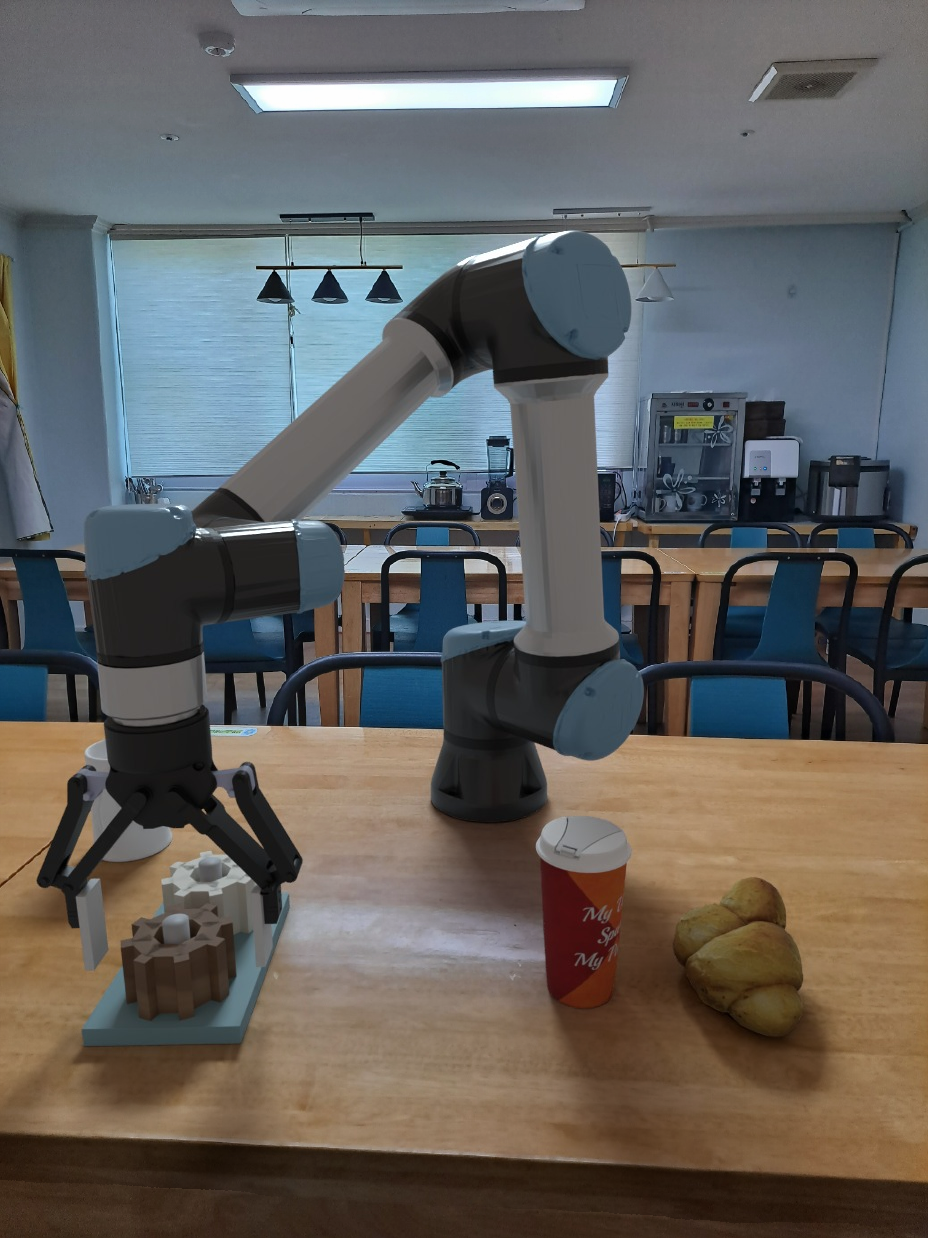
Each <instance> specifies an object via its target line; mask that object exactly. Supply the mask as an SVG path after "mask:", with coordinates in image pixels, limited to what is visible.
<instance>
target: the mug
mask: <svg viewBox="0 0 928 1238" xmlns="http://www.w3.org/2000/svg"><path fill="white" fill-rule="evenodd" d="M84 760H85V761H84V762H85V766H86V765H92V766H93V767H95V769H96V771H98V772H109V771H110V765H109V763H108V759H107V749H106V740H105V739H102V740H100V741H97V742H95V743H92V744H90V745H89V746H88V747H86V749H85V750H84ZM120 810H121V807H120V806H119V805H118V803H117V802H116V801H115V800H114V799H113V798H112V797H111V796H110V795H109V793H108V792H107V790H106V789H103V792H102V793H101V794H100V795H99V796H98V797H97V798H96V799H95V800H94V802H93V805H92V807H91V810H90V814H91V815H90V817H91V824H92V825H91V826H92V834H93V844H94V843H95V842H96V840H97V839H98V838H99V836H100V835H101V834H102V833H103V831H104V830H105V829H106V828H107V826H108V825H109V823H110V822H111V821H112V820H113V818H114V817H115V816H116V815H117V813H118V812H119V811H120ZM172 840H173V832H172V830H171V828H169V827H165V826H162V827H158V828H154V829H143V826H141V825H139V824H137V823H135V822H134V821H132V823H131V824H130V825H129V826H128V828H127V829H126V830H125V831H124V833H123V834H122V835H121V836H120V838H119V839H118V840H117V841H116V843H115V844H114V845H113V846H112V848H111V849H110V850H109V851H108V853H107V854H106V855H105V856H104V858H103V859H102V860H101V861H104V862H108V863H109V862H110V863H127V862H132V861H138V860H142V859H145V858H148V857H151V856H154V855H156V854H157V853H161V851H163V850H165V849H166V848H167V847H168V846H169V845H170V844H171V842H172Z"/></svg>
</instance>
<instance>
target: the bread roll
mask: <svg viewBox="0 0 928 1238" xmlns="http://www.w3.org/2000/svg"><path fill="white" fill-rule="evenodd" d="M719 901H720V902H719V904H718V903H712V904H711V903H707V904H704V905H702V906H698V907H695V908H692V909H690V910H689V911H687V912H686V913H685V914H684V915H683V917H681V918H680V919H679V922H678V923H677V924H676V927H675V932H674V936H673V940H672V949H673V955H674V957H675V958H676V960H677V962H678V963H679V964H680V965H681V967H683V969H684V971H685V975H686V977H687V978H688V980H689V983H690V984H691V987H692V988H693V990H695V992H696V994H697V997H698V998H699V999H700V1000H701V1001H702V1003H703V1004H705V1005H707V1006H709V1007H710V1008H713V1009H715V1010H717V1011H718V1012H721V1013H728V1014H729V1015H730V1017H732V1018H733V1019H734V1020H735V1021H736V1022H737V1023H738V1024H739V1025H740V1026H741V1027H742V1028H743V1027H744V1028H745V1029H748V1030H750V1031H752V1032H755V1033H757V1034H759V1035H762V1036H767V1037H783V1036H786V1035H788V1034H790V1033H791V1032H792V1031H793V1030H794V1029H795V1028H796V1026H797V1025H798V1024H799V1021H800V1020H801V1017H802V1014H803V1011H804V1005H803V1002H802V998H801V995H800V993H799V991H800V990H801V988H802V986H803V983H804V973H803V964H802V958H801V954H800V951H799V948H798V945H797V942H796V941H795V940H794V937H793V936H792V935H791V934H790V933H789V932H788V931H787V930H786V927H787V909H786V906H785V902H784V900H783V898H782V895H781V894H780V892H779V890H778V889H777V888H776V887H775V886H774V885H773V884H772V883H771V882H769V881H767V880H765V879H763V878H760V877H757V876H755V877H754V876H751V877H750V876H749V877H747V878H743V879H740V880H739V881H737V882H735V883H734V884H733V885H732V887H731V888H730V890H729V891H727V892H726V894H724V895H723V896H722V898H721V899H720V900H719Z"/></svg>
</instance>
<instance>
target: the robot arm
mask: <svg viewBox="0 0 928 1238" xmlns="http://www.w3.org/2000/svg"><path fill="white" fill-rule="evenodd" d="M628 282H629V281H628V279H627V276H626V274H625V271H624V269H623V267H622V265H621V263H620V261H619V259H618V258H617V257H616V256H615V255H613V253H612V251H611V249H610V248H609V246H608V245H607V244H606V243H605V242H603V241H602V240H601V239H599V238H598V237H597V236H595V235H593V234H591V233H589V232H586V231H582V230H567V231H561V232H555V233H552V232H551V233H548V234H539V235H536V237H534V238H530V239H526V240H524V241H521V242H517V243H515V244H511V245H508V246H504V247H502V248H499V249H494V250H492V251H489V252H483V253H478V254H476V255H473V256H470V257H467V258H465V259H464V260H462V261H459V263H457V264H455V265H453V266H452V267H451V268H449V269H448V270H446V271H445V272H444V273H442V274H441V275H440V276H439V277H438V278H437V279H435V280H434V281H432V282H431V283H430V284H429V285H428V286H427V287H426V288H425V289H424V290H422V292H420V293H419V294H418V295H417V296H416V297H415V298H413V299H412V300H411V301H410V302H409V303H408V304H407V305H406V306H405V307H404V308H402V310H401V311H399V312H398V313H397V314H396V315H395V316H393V317H392V318H391V319H390V320H389V321H388V322H387V323H386V324H385V325H384V327H383V329H382V335H381V337H382V338H381V339H382V341H380V342H379V343H378V344H377V345H376V346H375V347H374V348H373V349H372V350H371V351H369V353H368V354H366V355H365V356H364V357H363V358H362V359H361V360H360V361H358V362H357V363H356V364H354V366H353V367H352V368H351V369H350V370H348V371H347V372H346V373H345V374H344V375H343V376H341V378H340V379H338V380H337V381H336V382H335V383H334V384H332V386H330V388H328V389H327V390H326V391H325V392H323V394H321V395H320V396H319V398H317V399H316V400H315V401H314V402H313V403H312V404H311V405H309V406H308V407H307V408H306V409H305V410H304V411H303V412H302V413H300V415H299V416H297V417H296V418H295V419H293V420H292V422H290V424H288V425H287V426H286V427H285V428H284V429H283V430H281V432H280V433H278V434H277V435H276V436H275V437H274V438H273V439H271V441H270V442H268V443H267V444H266V445H265V446H264V447H262V449H260V450H259V451H258V452H257V453H256V454H255V455H254V456H253V457H251V459H249V461H247V462H246V463H245V464H244V465H242V467H240V468H239V470H237V471H236V472H235V473H234V474H233V475H232V476H231V477H229V478H228V479H227V480H226V481H225V482H224V483H222V484H221V485H220V486H219V487H218V488H217V489H216V490H214V491H213V492H211V494H210V495H207V497H206V498H204V499H203V501H202V502H200V503H199V504H198V505H197V506H196V507H195V508H194V509H193V510H191V509H190V508H189V507H188V506H186V505H184V504H180V503H132V504H130V503H129V504H117V505H109V506H108V505H106V506H102V507H98V508H96V509H93V510H91V511H90V512H89V513H88V514H87V516H86V517H85V520H84V524H83V535H84V536H83V537H84V538H83V540H84V541H83V542H84V545H83V546H84V557H85V558H84V561H85V563H84V565H85V569H84V577H85V578H86V580H87V581H86V583H87V591H88V596H89V603H90V611H91V618H92V627H93V632H94V638H95V639H94V641H95V646H96V647H95V648H96V650H95V653H96V663H97V674H98V683H99V686H98V687H99V695H100V708H101V711H102V713H103V714H105V715H106V716H107V718H106V719H105V720H104V722H103V730H104V740H106V749H107V759H108V763H109V765H110V771H109V772H98V771H96V769H95V767H93V766H92V765H86V764H85V765H84V766H83V767H81V768H80V769H79V770H78V771H77V772H76V773H75V774H74V775H72V776H71V777H69V779H67V784H66V790H67V791H66V793H67V794H66V795H67V796H66V800H67V801H66V806H65V809H64V811H63V814H62V816H61V818H60V820H59V822H58V825H57V827H56V830H55V832H54V835H53V838H52V840H51V843H50V845H49V848H48V850H47V852H46V854H45V855H46V856H45V857H44V861H43V863H42V865H41V867H40V869H39V873H38V875H37V878H36V884H37V885H38V887H39V888H42V889H48V888H50V887H53V888H57V889H59V890H60V891H61V892H62V893H63V894H64V899H65V907H66V912H67V921H68V924H69V926H70V928H71V929H79V933H80V941H81V948H82V949H81V950H82V959H83V966H84V971H85V972H86V971H87V972H90V971H92V972H93V971H96V969H98V968H97V967H98V966H99V965H100V963H101V962H102V960H103V959H104V957H105V956H106V955H107V953H108V951H109V943H108V941H109V940H108V933H107V925H106V917H105V908H104V900H103V899H104V898H103V892H102V884H101V878H90V879H89V880H88V877H90V876H91V874H92V873H93V872H94V870H95V869H97V866H98V865H99V864H100V863H101V862H102V861H103V860H102V859H103V858H104V856H105V855H106V854H107V853H108V851H109V850H110V849H111V848H112V846H113V845H114V844H115V843H116V841H117V840H118V839H119V838H120V836H121V835H122V834H123V833H124V831H125V830H126V829H127V828H128V826H129V825H130V824H131V823H132V821H134V822H135V823H137V824H139V825H141V826H143V829H154V828H158V827H162V826H165V827H169V828H170V829H184V828H185V827H186V826H187V825H191V827H192V828H193V829H194V830H195V831H196V832H198V833H199V834H200V835H202V836H203V835H205V836H207V837H208V838H209V839H210V841H212V843H214V844H215V845H216V846H217V847H218V848H219V849H220V850H221V851H222V852H223V853H224V855H225V854H226V855H227V856H228V857H229V858H230V859H232V860H233V861H234V862H235V863H236V864H237V865H238V866H239V867H240V868H241V869H242V870H243V871H244V872H245V873H246V874H247V875H248V876H249V877H250V878H251V879H252V880H253V881H254V882H255V885H254V887H253V889H252V891H251V906H252V919H253V933H254V946H255V959H256V967H266V964H267V961H268V959H269V956H270V953H271V950H272V947H273V941H272V927H271V924H277V922H278V919H279V916H280V914H281V911H282V895H281V893H282V884H284V883H287V884H288V883H289V884H291V883H295V882H296V881H297V878H298V877H299V873H300V871H301V868H302V865H303V863H304V861H303V860H304V859H303V857H302V855H301V854H300V852H299V850H298V848H296V846H295V844H294V842H293V841H292V839H291V837H290V835H289V834H288V832H287V831H286V829H285V828H284V826H283V824H282V823H281V821H280V819H279V818H278V816H277V814H276V813H275V811H274V810H273V807H272V806H271V804H270V803H269V802H268V800H267V798H266V796H265V795H264V793H263V792H262V790H261V789H260V787H259V786H260V785H259V781H258V776H257V770H256V767H255V764H253V762H251V761H244V762H242V763H241V764H240V766H239V767H235V768H228V769H226V768H225V769H218V767H217V766H216V764H215V763H214V760H213V745H212V743H213V742H212V734H211V733H212V732H211V720H210V711H209V708H207V707H206V705H204V703H205V702H206V701H207V700H208V692H207V691H208V689H207V677H206V675H207V674H206V665H205V664H206V663H205V651H204V649H205V646H204V644H205V643H204V639H203V628H204V627H205V626H208V625H218V624H219V625H220V624H224V623H229V622H236V621H243V620H251V619H258V618H265V617H266V618H267V617H272V616H281V615H286V614H287V615H288V614H294V613H295V614H297V615H298V614H302V613H303V612H307V611H310V610H314V609H318V608H319V609H320V608H323V607H327V606H330V605H331V604H333V603H334V602H335V601H336V600H337V599H338V597H339V596H340V593H341V592H342V590H343V586H344V582H345V576H346V575H345V574H346V573H345V572H346V571H345V556H344V552H343V551H344V550H343V548H342V546H341V543H340V540H339V537H338V536H337V535H336V533H335V532H334V529H332V527H330V526H329V525H328V524H326V523H325V522H323V521H320V520H313V519H312V520H303V519H304V518H305V517H306V516H307V515H309V513H310V512H311V511H312V510H314V508H315V507H316V506H318V504H319V503H321V502H322V501H323V500H324V499H325V498H326V497H327V496H328V495H329V494H330V493H331V492H332V491H333V490H334V489H335V488H337V486H338V485H339V484H341V483H342V481H344V480H345V479H346V478H347V477H348V476H349V475H350V474H351V473H352V472H353V471H354V470H355V469H356V468H357V467H358V466H359V465H360V464H361V463H363V461H364V460H365V459H367V458H368V456H370V455H371V454H372V453H373V452H374V451H375V450H376V449H377V448H378V447H379V446H381V444H382V443H383V442H384V441H386V439H387V438H388V437H389V436H391V435H392V434H393V432H395V431H396V430H397V429H398V428H399V427H400V426H401V425H402V424H403V423H404V422H405V421H406V420H407V419H408V418H410V417H411V415H412V414H413V413H415V412H416V411H417V410H418V409H419V408H420V407H421V406H422V405H423V404H424V403H425V402H426V401H427V400H428V399H430V398H441V397H444V396H445V395H448V394H449V392H450V391H451V390H452V389H453V388H455V386H456V385H458V384H459V383H460V382H463V380H466V379H468V378H470V377H472V376H474V375H478V374H480V373H483V372H488V371H490V370H492V378H493V388H494V389H495V390H496V391H497V392H499V394H501V395H502V396H503V397H504V398H505V399H507V402H508V403H509V406H510V418H511V419H510V420H511V433H512V434H511V435H512V448H513V462H514V477H515V490H516V504H517V514H518V515H517V516H518V518H517V519H518V531H519V543H520V545H519V546H520V547H519V548H520V559H521V560H520V561H521V573H522V587H523V601H524V602H523V603H524V611H525V612H524V613H525V620H497V621H484V622H477V623H475V622H474V623H471V624H470V623H469V624H464V625H461V626H460V625H459V626H456V627H454V628H451V629H449V630H448V631H447V632H446V634H445V635H444V636H443V639H442V649H441V650H442V652H441V658H440V664H441V682H442V683H441V684H442V687H441V689H442V719H443V720H442V721H443V723H442V724H443V725H442V727H443V741H442V745H441V748H440V752H439V755H438V758H437V761H436V763H435V767H434V769H433V773H432V776H431V779H430V800H431V803H432V804H433V806H434V807H435V808H436V809H438V811H440V812H442V813H443V814H445V815H447V816H450V817H453V818H455V819H460V820H464V821H470V822H482V823H500V822H509V821H515V820H519V819H523V818H526V817H529V816H531V815H533V814H535V813H537V812H539V811H540V810H542V809H543V808H544V807H545V805H546V804H547V800H548V782H547V781H548V780H547V777H546V774H545V771H544V768H543V765H542V761H541V759H540V756H539V755H540V754H539V752H538V748H537V746H536V744H537V745H540V746H543V747H545V748H548V749H550V750H553V751H555V752H557V754H558V755H561V756H564V757H572V758H576V759H579V760H583V761H589V762H590V761H591V762H592V761H599V760H602V759H604V758H607V757H609V756H610V755H612V754H613V753H614V752H616V751H617V750H618V749H620V747H621V746H622V745H623V744H624V743H625V742H626V740H627V739H628V737H629V736H630V734H631V732H632V731H633V730H634V729H635V726H636V724H637V722H638V719H639V717H640V713H641V711H642V707H643V702H644V695H645V694H644V693H645V692H644V689H645V687H644V681H643V677H642V675H641V673H640V671H639V670H637V668H636V666H635V665H634V664H632V663H631V662H629V661H628V660H626V659H623V658H622V659H621V653H620V635H619V632H618V630H617V629H615V628H614V627H613V626H612V625H611V624H609V622H607V621H606V619H605V614H604V613H605V609H604V590H603V589H604V588H603V587H604V586H603V565H602V562H603V561H602V546H601V544H602V540H601V539H602V538H601V521H600V520H601V519H600V517H601V516H600V499H599V496H600V495H599V477H598V475H599V473H598V454H597V432H596V427H597V426H596V409H595V408H596V407H595V395H596V394H597V391H598V390H599V388H601V386H602V385H603V383H605V381H606V380H607V379H608V378H609V356H611V355H612V354H614V353H615V352H616V351H617V350H618V349H619V348H620V347H621V345H623V343H624V341H625V339H626V336H625V334H626V333H627V332H628V331H629V329H630V325H631V320H632V298H631V292H630V291H631V290H630V287H629V283H628ZM218 788H222V789H224V790H225V791H226V793H227V795H228V797H229V798H231V799H233V798H234V799H235V801H236V804H237V807H238V809H239V810H240V813H241V815H242V816H243V818H244V819H245V821H246V822H247V825H249V827H250V828H251V831H252V832H253V834H254V835H255V837H256V838H257V840H258V841H259V842H257V840H255V838H254V837H252V836H251V835H250V834H249V832H248V831H246V830H245V829H244V828H243V827H242V826H241V825H240V824H239V823H238V822H237V820H235V819H234V818H233V817H232V816H231V814H229V813H228V811H226V807H225V805H224V804H223V803H222V802H221V801H220V800H219V799H218V798H217V797H216V796H215V795H214V792H215V791H216V790H217V789H218ZM103 789H106V790H107V792H108V793H109V795H110V796H111V797H112V798H113V799H114V800H115V801H116V802H117V803H118V805H119V806H120V807H121V810H120V811H119V812H118V813H117V815H116V816H115V817H114V818H113V820H112V821H111V822H110V823H109V825H108V826H107V828H106V829H105V830H104V831H103V833H102V834H101V835H100V836H99V838H98V839H97V840H96V842H95V843H94V842H93V843H92V845H91V846H90V848H89V849H88V850H87V852H86V853H85V854H84V855H83V856H82V858H81V859H80V860H79V861H78V863H77V864H76V866H72V865H68V864H69V862H70V859H71V858H72V856H73V855H72V854H73V852H74V850H75V847H76V846H77V843H78V840H79V837H80V836H81V833H82V831H83V829H84V826H85V824H86V821H87V819H88V817H89V815H90V813H91V807H92V805H93V802H94V800H95V799H96V798H97V797H98V796H99V795H100V794H101V793H102V792H103ZM259 843H260V844H259Z"/></svg>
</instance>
